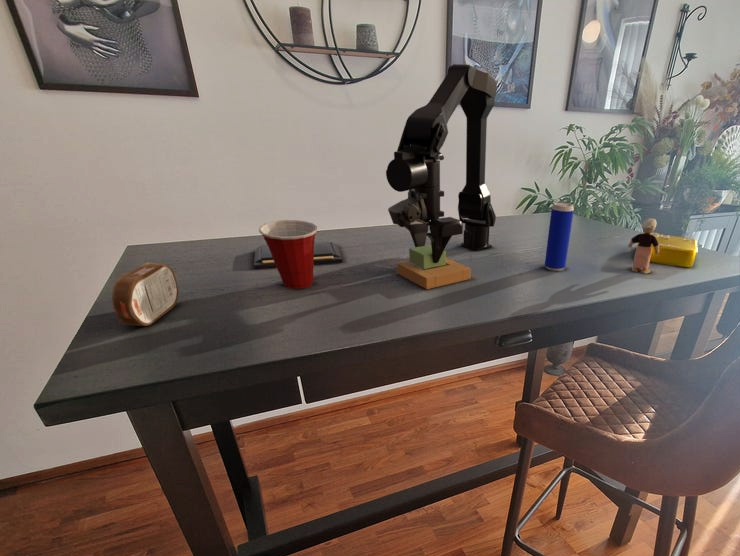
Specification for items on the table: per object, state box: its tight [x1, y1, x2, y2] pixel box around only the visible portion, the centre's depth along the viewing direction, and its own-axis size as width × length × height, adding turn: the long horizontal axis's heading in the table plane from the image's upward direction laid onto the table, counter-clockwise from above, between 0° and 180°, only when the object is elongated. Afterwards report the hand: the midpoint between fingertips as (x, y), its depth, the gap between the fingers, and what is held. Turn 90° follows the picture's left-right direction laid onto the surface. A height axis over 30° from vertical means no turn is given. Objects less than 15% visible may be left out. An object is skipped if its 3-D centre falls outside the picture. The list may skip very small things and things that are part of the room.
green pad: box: [408, 244, 447, 270], centre depth 100 cm, size 6×6×3 cm
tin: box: [111, 261, 180, 327], centre depth 75 cm, size 15×3×8 cm, turn 5°
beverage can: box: [544, 202, 575, 272], centre depth 106 cm, size 5×5×15 cm
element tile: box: [635, 232, 698, 268], centre depth 121 cm, size 15×15×5 cm
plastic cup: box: [258, 219, 318, 290], centre depth 90 cm, size 11×11×12 cm
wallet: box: [253, 240, 343, 269], centre depth 109 cm, size 20×2×15 cm
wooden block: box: [396, 257, 472, 290], centre depth 100 cm, size 12×12×2 cm
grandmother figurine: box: [627, 217, 659, 274], centre depth 108 cm, size 8×4×13 cm, turn 65°
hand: (427, 259), depth 101 cm, fingers closed on green pad, 6 cm apart
